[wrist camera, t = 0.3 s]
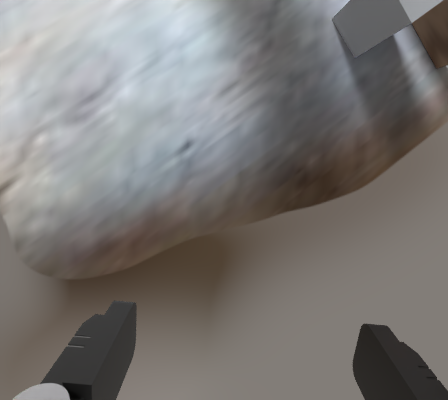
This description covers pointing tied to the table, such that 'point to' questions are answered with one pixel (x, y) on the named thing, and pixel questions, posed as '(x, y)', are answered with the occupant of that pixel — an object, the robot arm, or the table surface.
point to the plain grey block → (377, 20)
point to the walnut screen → (435, 33)
